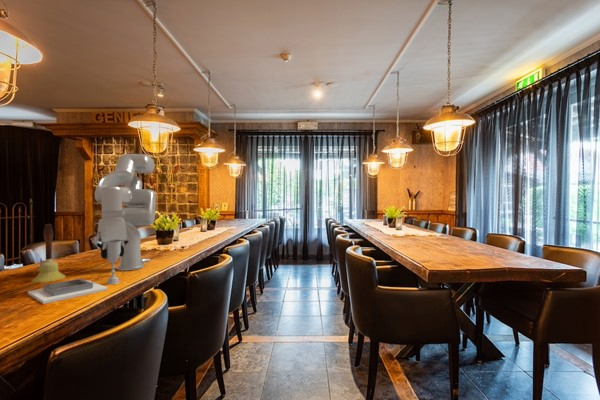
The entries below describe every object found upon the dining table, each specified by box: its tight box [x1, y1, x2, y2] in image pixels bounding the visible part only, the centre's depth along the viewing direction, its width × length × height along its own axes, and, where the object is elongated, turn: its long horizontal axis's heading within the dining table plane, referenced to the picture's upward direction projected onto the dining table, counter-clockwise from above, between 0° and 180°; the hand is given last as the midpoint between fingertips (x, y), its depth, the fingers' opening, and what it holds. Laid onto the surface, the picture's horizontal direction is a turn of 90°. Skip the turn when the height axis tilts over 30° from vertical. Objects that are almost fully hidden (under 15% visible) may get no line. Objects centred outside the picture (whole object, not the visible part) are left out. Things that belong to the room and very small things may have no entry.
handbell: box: [30, 223, 67, 284], centre depth 141 cm, size 12×12×25 cm
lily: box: [33, 253, 45, 275], centre depth 153 cm, size 12×12×10 cm
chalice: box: [105, 241, 121, 285], centre depth 133 cm, size 7×7×18 cm
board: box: [27, 279, 109, 305], centre depth 120 cm, size 20×20×1 cm
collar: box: [42, 278, 93, 296], centre depth 120 cm, size 12×12×2 cm
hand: (112, 257), depth 133 cm, fingers closed on chalice, 5 cm apart
